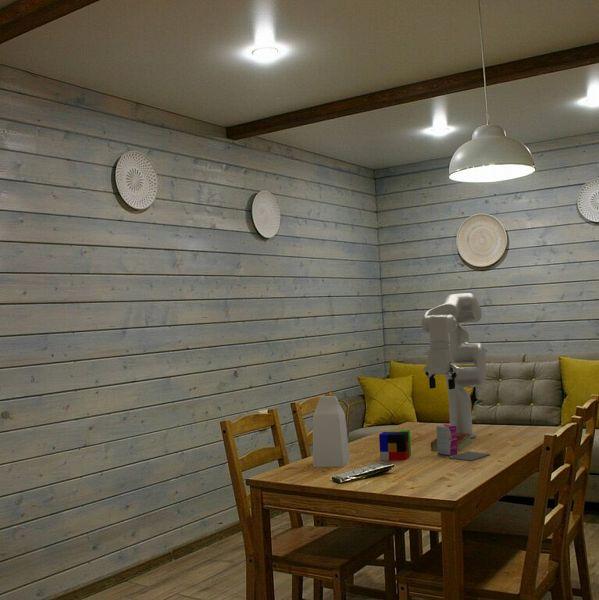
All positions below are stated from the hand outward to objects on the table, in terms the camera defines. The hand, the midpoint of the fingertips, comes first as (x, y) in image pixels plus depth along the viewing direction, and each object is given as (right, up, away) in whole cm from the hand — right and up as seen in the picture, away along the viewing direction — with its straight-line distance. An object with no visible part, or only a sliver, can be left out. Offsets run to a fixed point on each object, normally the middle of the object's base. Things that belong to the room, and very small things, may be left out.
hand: (442, 388), depth 297 cm
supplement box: (+1, -26, -6) cm, 26 cm away
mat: (+8, -25, -13) cm, 29 cm away
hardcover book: (+6, -26, +12) cm, 29 cm away
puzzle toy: (-19, -27, -6) cm, 34 cm away
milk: (-45, -28, -11) cm, 54 cm away
